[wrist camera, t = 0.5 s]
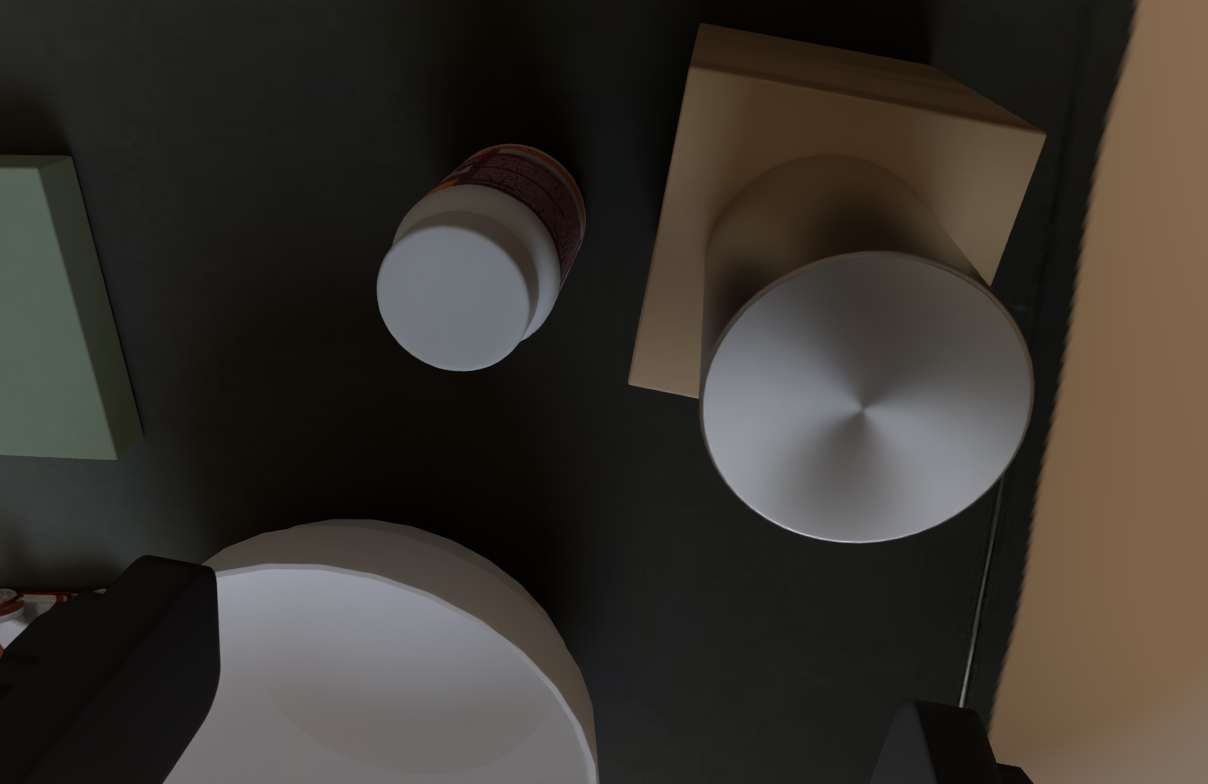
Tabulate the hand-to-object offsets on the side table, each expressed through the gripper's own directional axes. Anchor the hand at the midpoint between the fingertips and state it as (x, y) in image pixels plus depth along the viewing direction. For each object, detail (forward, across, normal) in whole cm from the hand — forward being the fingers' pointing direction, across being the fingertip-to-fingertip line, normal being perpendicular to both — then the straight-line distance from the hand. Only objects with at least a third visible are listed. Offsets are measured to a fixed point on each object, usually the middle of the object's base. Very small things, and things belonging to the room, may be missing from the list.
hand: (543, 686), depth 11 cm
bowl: (+22, +7, +20) cm, 31 cm away
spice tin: (+11, -4, -2) cm, 12 cm away
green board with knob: (+22, +24, +7) cm, 33 cm away
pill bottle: (+22, +4, +1) cm, 23 cm away
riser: (+22, -4, -2) cm, 22 cm away
